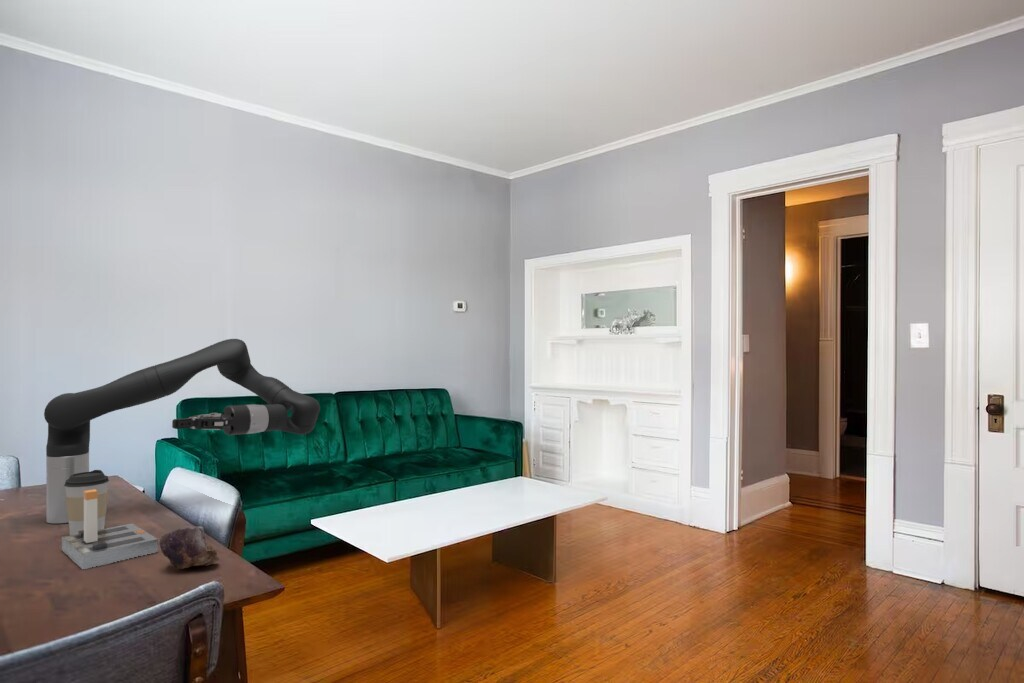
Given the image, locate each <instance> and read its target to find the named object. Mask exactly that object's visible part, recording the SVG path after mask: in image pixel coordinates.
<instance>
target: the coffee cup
mask: <svg viewBox="0 0 1024 683" xmlns="http://www.w3.org/2000/svg"><path fill="white" fill-rule="evenodd" d="M109 481H110V478H109V476H108V475H105V473H104V472H103V471H102V470H101V469H93V470H91V471H89V472H82V473H76V474H73V475H71V476H70V477H69V479H67V480H66V481H65V485H64V486H65V488H66V495H65V497H66V507H67V517H68V520H69V522H68V530H69V535H74V534H78V531H82V530H84V498H83V491H86V490H93V489H95V490H97V491H98V498H97V530H100V529H105V522H106V515H107V508H108V507H107V506H108V497H109V490H108V484H109Z"/></svg>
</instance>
